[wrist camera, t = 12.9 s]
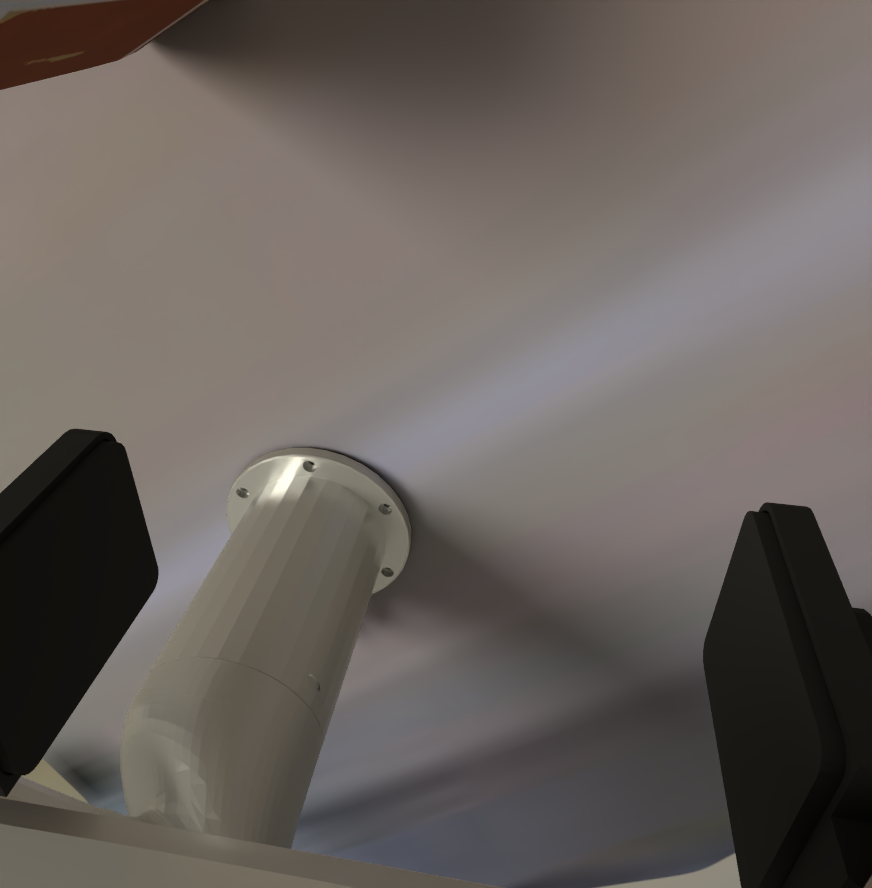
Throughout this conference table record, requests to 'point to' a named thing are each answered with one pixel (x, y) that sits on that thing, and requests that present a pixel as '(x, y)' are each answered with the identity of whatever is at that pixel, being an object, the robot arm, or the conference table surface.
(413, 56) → the conference table surface
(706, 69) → the conference table surface
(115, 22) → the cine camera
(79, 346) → the conference table surface
